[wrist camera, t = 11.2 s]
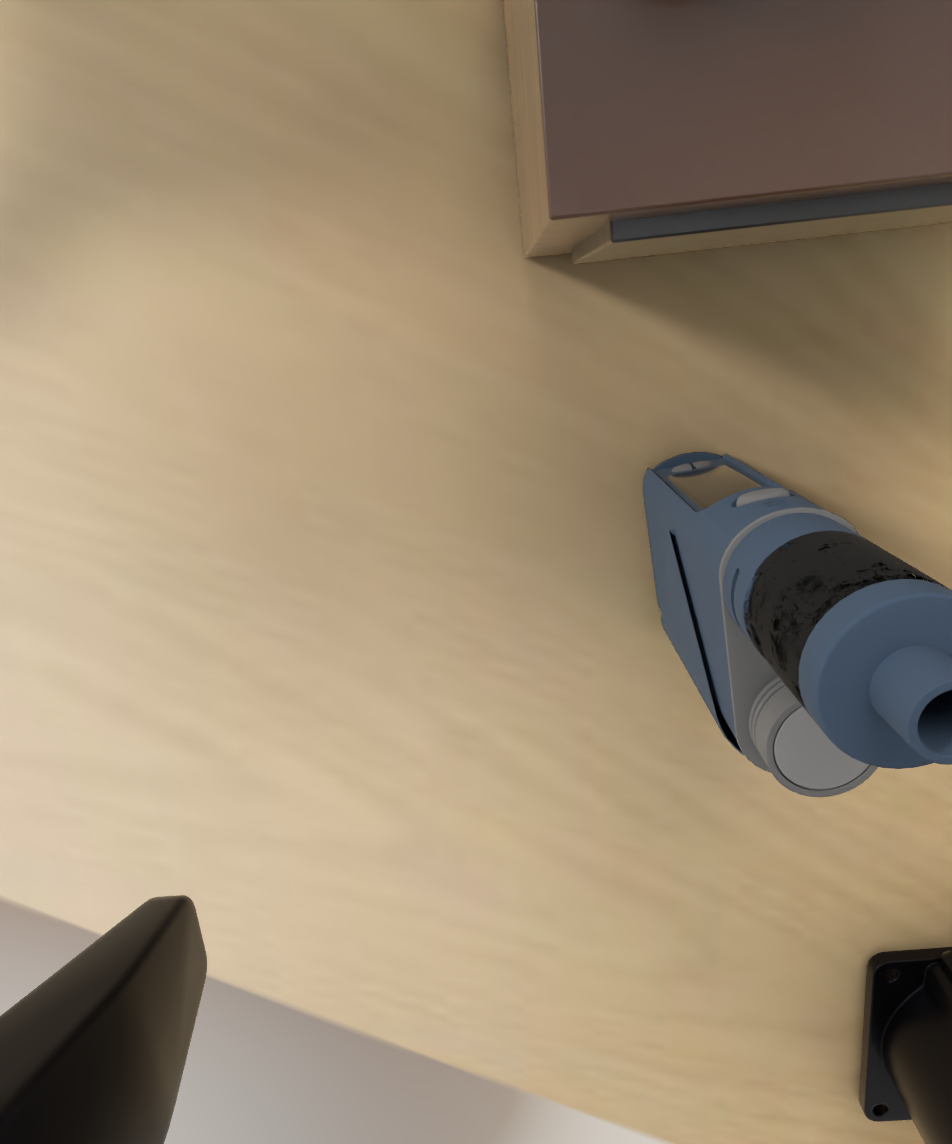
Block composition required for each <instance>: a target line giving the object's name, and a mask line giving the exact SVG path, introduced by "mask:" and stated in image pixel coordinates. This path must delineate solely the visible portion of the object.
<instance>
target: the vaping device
mask: <svg viewBox="0 0 952 1144" xmlns="http://www.w3.org/2000/svg"><path fill="white" fill-rule="evenodd" d="M643 495H644V503H645V510H646V518H647V526H648V533H649V541H650V548H651V556H652V563H653V571H654V578H655V586H656V593H657V601H658V605H659V608H660V610H661V612H662V617H661V621H662V625H663V628H664V630H665V632H666V634H667V635H668V637H669V639H670V641H671V643H672V644H673V646H674V648H675V650H676V651H677V653H678V655H679V657H680V659H681V660H682V662H683V664H684V666H685V668H686V669H687V671H688V673H689V675H690V676H691V678H692V680H693V682H694V684H695V685H696V687H697V689H698V691H699V692H700V694H701V696H702V698H703V700H704V701H705V703H706V705H707V707H708V708H709V710H710V712H711V714H712V716H713V717H714V719H715V721H716V723H717V724H718V726H719V728H720V730H721V732H722V733H723V735H724V737H725V738H726V739H727V740H728V741H729V742H730V743H731V744H732V745H733V747H734V748H735V749H736V750H738V751H739V752H740V753H741V754H743V755H745V756H746V758H747V759H748V760H749V761H750V762H752V763H753V764H754V765H755V766H757V767H759V768H761V769H763V770H765V771H768V772H771V773H772V774H773V775H774V777H775V778H776V779H777V780H778V781H779V782H780V783H781V784H782V785H783V786H785V787H786V788H788V789H789V790H791V791H793V792H796V793H798V794H801V795H806V796H811V797H827V796H833V795H837V794H841V793H844V792H846V791H849V790H851V789H853V788H855V787H856V786H858V785H860V784H861V783H863V782H864V781H865V780H866V779H868V778H869V777H870V776H871V775H872V774H873V772H874V771H875V770H876V769H877V767H882V768H895V769H901V768H913V767H919V766H923V765H927V764H932V763H938V764H952V590H950V589H948V588H946V586H944V585H942V584H941V583H939V582H937V581H936V580H934V579H932V578H930V577H929V576H927V575H925V574H924V573H922V572H920V571H919V570H917V569H915V568H914V567H912V566H910V565H909V564H907V563H905V562H904V561H902V560H900V559H899V558H897V557H895V556H894V555H892V554H890V553H888V552H887V551H885V550H883V549H882V548H880V547H878V546H877V545H875V544H873V543H872V542H870V541H868V540H866V539H865V538H863V537H862V536H860V535H859V534H858V532H857V531H856V530H855V528H854V527H853V526H852V525H851V524H849V523H848V522H847V521H846V520H844V519H843V518H841V517H839V516H838V515H836V514H834V513H831V512H828V511H826V510H824V509H822V508H821V507H819V506H817V505H815V504H814V503H812V502H810V501H809V500H807V499H805V498H803V497H802V496H800V495H798V494H797V493H795V492H793V491H791V490H788V489H786V488H784V487H782V486H781V485H779V484H777V483H776V482H774V481H772V480H771V479H769V478H767V477H765V476H764V475H762V474H760V473H759V472H757V471H755V470H753V469H752V468H750V467H748V466H747V465H745V464H743V463H741V462H740V461H738V460H736V459H735V458H733V457H731V456H730V455H728V454H726V453H725V454H724V456H723V457H722V456H719V455H717V454H713V453H706V452H693V453H685V454H681V455H678V456H675V457H672V458H670V459H668V460H666V461H664V462H662V463H660V464H659V465H658V466H656V467H655V468H654V469H653V470H652V469H650V468H648V469H647V471H646V474H645V476H644V480H643ZM912 573H913V574H914V575H915V576H916V578H915V576H913V574H912ZM916 579H917V580H916ZM919 579H920V580H919ZM935 581H936V582H937V583H936V582H935ZM940 584H941V585H940Z"/></svg>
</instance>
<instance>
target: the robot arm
mask: <svg viewBox="0 0 952 1144" xmlns="http://www.w3.org/2000/svg"><path fill="white" fill-rule="evenodd" d="M887 969H889V970H888V971H885V970H887ZM206 972H207V956H206V951H205V947H204V943H203V938H202V934H201V930H200V926H199V922H198V918H197V913H196V909H195V906H194V903H193V901H192V900H191V899H190V898H189V897H187V896H184V895H180V896H165V897H155V898H152V899H149V900H148V901H147V902H145V903H144V904H142V905H141V906H140V907H139V908H137V909H136V910H135V911H133V912H132V913H131V914H130V915H128V916H127V917H126V918H125V919H123V920H122V921H121V922H119V923H118V924H117V925H116V926H114V927H113V928H112V929H111V930H109V931H108V932H107V933H105V934H104V935H103V936H102V937H100V938H99V939H98V940H97V941H95V942H94V943H93V944H92V945H90V946H89V947H88V948H86V949H85V950H84V951H83V952H81V953H80V954H79V955H77V957H75V958H74V959H72V960H71V961H70V962H69V963H67V964H66V965H65V966H64V967H62V968H61V969H60V970H58V971H57V972H56V973H55V974H53V975H52V976H51V977H49V978H48V979H47V980H46V981H44V982H43V983H42V984H41V985H39V986H38V987H37V988H36V989H34V990H33V991H32V992H30V993H29V994H28V995H27V996H25V997H24V998H23V999H21V1000H20V1001H19V1002H18V1003H16V1004H15V1005H14V1006H13V1007H11V1008H10V1009H9V1010H8V1011H6V1012H5V1013H4V1014H2V1015H1V1016H0V1144H164V1141H165V1138H166V1135H167V1132H168V1129H169V1126H170V1122H171V1118H172V1114H173V1111H174V1106H175V1103H176V1099H177V1095H178V1091H179V1087H180V1082H181V1078H182V1074H183V1070H184V1066H185V1062H186V1058H187V1054H188V1049H189V1045H190V1041H191V1037H192V1032H193V1029H194V1024H195V1020H196V1016H197V1012H198V1008H199V1004H200V1000H201V996H202V991H203V987H204V983H205V978H206ZM859 1102H860V1105H861V1107H862V1109H863V1111H864V1113H865V1115H866V1117H867V1118H868V1119H870V1120H872V1121H895V1120H911V1119H912V1120H913V1121H914V1123H915V1125H916V1127H917V1129H918V1131H919V1133H920V1135H921V1137H922V1138H923V1140H924V1142H925V1144H952V947H946V948H932V949H918V950H904V951H890V952H882V953H878V954H876V955H874V956H873V957H872V958H871V959H870V960H869V962H868V965H867V976H866V993H865V1009H864V1026H863V1042H862V1059H861V1075H860V1092H859Z"/></svg>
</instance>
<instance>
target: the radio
mask: <svg viewBox="0 0 952 1144" xmlns="http://www.w3.org/2000/svg"><path fill="white" fill-rule="evenodd" d="M503 6H504V19H505V31H506V44H507V57H508V69H509V82H510V94H511V107H512V120H513V132H514V145H515V158H516V170H517V183H518V195H519V208H520V221H521V233H522V246H523V256H524V257H525V258H529V257H538V256H547V255H556V254H565V253H572V257H573V263H574V264H579V263H588V262H597V261H606V260H615V259H624V258H633V257H642V256H651V255H660V254H669V253H678V252H687V251H696V250H705V249H715V248H724V247H733V246H742V245H751V244H760V243H769V242H778V241H787V240H796V239H805V238H814V237H823V236H832V235H841V234H850V233H859V232H868V231H877V230H886V229H895V228H904V227H913V226H922V225H931V224H940V223H948V222H952V0H503Z"/></svg>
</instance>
